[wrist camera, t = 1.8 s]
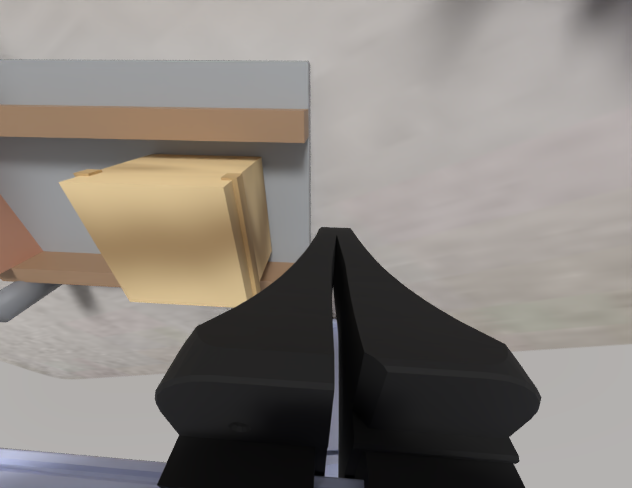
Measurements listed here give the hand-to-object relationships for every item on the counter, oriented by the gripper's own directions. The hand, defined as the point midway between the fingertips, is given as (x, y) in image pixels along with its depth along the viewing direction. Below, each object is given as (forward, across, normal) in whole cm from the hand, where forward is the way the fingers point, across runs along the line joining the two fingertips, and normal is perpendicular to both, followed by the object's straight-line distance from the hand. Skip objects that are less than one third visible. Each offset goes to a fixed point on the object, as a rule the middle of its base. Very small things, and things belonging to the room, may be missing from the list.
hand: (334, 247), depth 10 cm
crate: (+4, +7, 0) cm, 8 cm away
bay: (+5, +12, 0) cm, 13 cm away
